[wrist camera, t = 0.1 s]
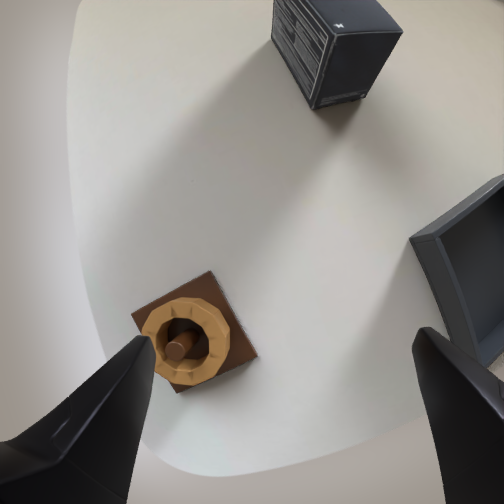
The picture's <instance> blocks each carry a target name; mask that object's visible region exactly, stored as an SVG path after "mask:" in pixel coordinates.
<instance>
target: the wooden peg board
mask: <svg viewBox="0 0 504 504" xmlns="http://www.w3.org/2000/svg"><path fill="white" fill-rule="evenodd" d="M181 297H185V298H201V299H203V300H205V301H206V302H208V303H210V304H211V305H213V306H214V307H216V308H218V309H219V310H220V312H221V313H222V315H223V317H224V319H225V321H226V322H227V324H228V326H229V328H230V349H229V351H228V354H227V356H226V359H225V361H224V362H223V364H222V365H221V367H220V368H219V370H218V371H217V373H216V375H215V376H214V377H216V376H218V375H220V374H222V373H224V372H226V371H229V370H231V369H233V368H235V367H237V366H239V365H241V364H243V363H245V362H247V361H249V360H251V359H253V358H255V357H257V353H256V351H255V349H254V347H253V346H252V344H251V342H250V341H249V339H248V337H247V335H246V334H245V332H244V330H243V328H242V326H241V325H240V323H239V321H238V319H237V318H236V316H235V314H234V312H233V310H232V309H231V307H230V305H229V303H228V301H227V300H226V298H225V296H224V294H223V292H222V290H221V289H220V287H219V285H218V283H217V281H216V279H215V277H214V276H213V274H212V272H211V271H208V272H206V273H204V274H202V275H200V276H198V277H197V278H195V279H193V280H191V281H189V282H188V283H186V284H184V285H182V286H180V287H178V288H177V289H175V290H173V291H171V292H169V293H168V294H166V295H164V296H162V297H160V298H159V299H157V300H155V301H153V302H151V303H150V304H148V305H146V306H144V307H142V308H140V309H139V310H137V311H135V312H133V313H131V315H132V317H133V319H134V321H135V323H136V325H137V327H138V329H139V330H140V332H141V334H142V328H143V326H144V324H145V322H146V321H147V319H148V317H149V315H150V313H151V312H152V311H153V310H155V309H157V308H158V307H160V306H162V305H164V304H166V303H168V302H169V301H172V300H175V299H178V298H181ZM168 342H169V343H168V344H167V346H166V348H165V352H166V355H167V357H168V358H169V359H171V360H173V361H180V360H182V359H183V358H185V359H195V360H198V359H200V358H203V357H205V356H207V355H209V338H208V337H207V335H206V333H205V331H204V330H203V328H202V327H201V326H200V325H198V324H197V323H195V322H194V321H192V320H191V319H188V318H173V320H172V322H171V323H170V325H169V327H168ZM210 379H211V378H210ZM208 380H209V379H208ZM206 381H207V380H206ZM169 382H170V381H169ZM204 382H205V381H204ZM201 383H202V382H201ZM170 384H171V386H172V387H173V389H174V390H175V392H176V393H179V392H181V391H184V390H186V389H189V388H191V387H193V386H192V385H183V384H174V383H171V382H170ZM199 384H200V383H199ZM197 385H198V384H197ZM194 386H195V385H194Z"/></svg>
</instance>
